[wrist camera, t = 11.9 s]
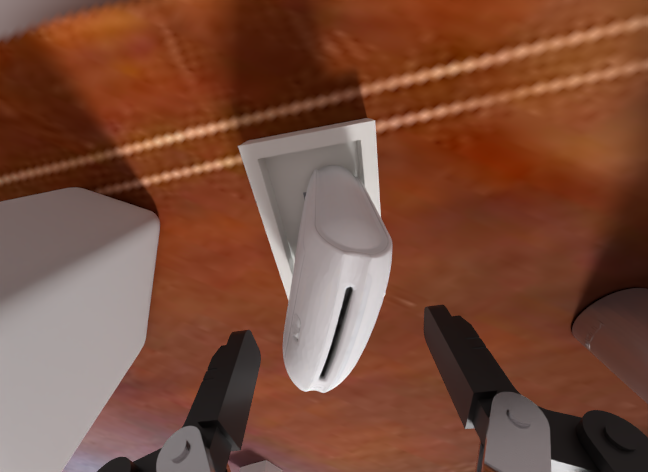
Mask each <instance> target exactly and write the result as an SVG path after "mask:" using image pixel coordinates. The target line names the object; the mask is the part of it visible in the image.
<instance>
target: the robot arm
mask: <svg viewBox="0 0 648 472" xmlns="http://www.w3.org/2000/svg"><path fill="white" fill-rule="evenodd" d="M572 333H573V336H574V337H575V338H576V339H577V340H578V341H579V342H580V343H581V344H583V345H584V346H585V347H586V348H587V349H588V350H589V351H590V352H591V353H592V354H594V355H595V356H596V357H597V358H598V359H599V360H600V361H601V362H602V363H603V364H605V365H606V366H607V367H608V368H609V369H610V370H611V371H612V372H613V373H614V374H615V375H616V376H618V377H619V378H620V379H621V380H622V381H623V382H624V383H625V384H626V385H627V386H629V387H630V388H631V389H632V390H633V391H634V392H635V393H636V394H637V395H639V396H640V397H641V398H642V399H643V400H644V401H645V402H646V403H647V404H648V289H646V288H632V289H626V290H622V291H618V292H615V293H613V294H610V295H608V296H606V297H604V298H602V299H600V300H598V301H596V302H595V303H593V304H592V305H590V306H589V307H588V308H586V309H585V310H584V311H583V312H582V313H581V314H580V315H579V316H578V317H577V319H576V320H575V322H574V324H573V327H572ZM424 336H425V340H426V343H427V345H428V347H429V350H430V352H431V354H432V356H433V359H434V361H435V363H436V365H437V368H438V370H439V372H440V374H441V376H442V379H443V381H444V383H445V385H446V388H447V390H448V392H449V394H450V396H451V399H452V401H453V403H454V405H455V408H456V410H457V412H458V414H459V417H460V419H461V421H462V423H463V425H464V428H465V429H470V428H475V430H476V432H477V434H478V436H479V438H480V444H479V450H478V457H477V463H476V470H475V472H648V438H647V437H646V436H645V435H644V434H643V433H642V432H641V431H640V430H639V429H638V428H636V427H635V426H634V425H632V424H631V423H629V422H628V421H626V420H624V419H622V418H620V417H619V416H616V415H614V414H612V413H608V412H605V411H600V410H593V411H589V412H587V413H586V414H585V415H584V416H583V417H582V418H581V417H576V416H572V415H567V414H563V413H558V412H554V411H550V410H546V409H543V408H541V407H539V406H537V405H535V404H534V403H533V402H532V401H530V400H529V399H527V398H526V397H524V396H522V395H521V394H520V393H519V392H518V391H517V390H516V389H515V388H514V386H513V385H512V383H511V382H510V381H509V379H508V378H507V376H506V375H505V373H504V372H503V370H502V369H501V367H500V366H499V365H498V363H497V362H496V360H495V359H494V357H493V356H492V354H491V353H490V351H489V350H488V349H487V348H486V346H485V344H484V343H483V341H482V340H481V339H480V338H479V335H478V334H477V333H476V331H475V330H474V328H473V327H472V325H471V324H470V323H468V322H467V321H466V320H464V319H463V318H462V317H461V316H451V315H450V313H449V312H448V310H447V308H446V307H445V306H444V305H436V306H429V307H425V311H424ZM260 361H261V355H260V350H259V348H258V346H257V344H256V341H255V339H254V337H253V335H252V333H251V331H250V330H244V331H237V332H232V333H231V335H230V337H229V340H228V342H227V345H224V346H221V347H220V348H219V349H218V351H217V352H216V353H215V354H214V356H213V357H212V359H211V362H210V364H209V367H208V371H206V374H205V376H204V378H203V382H202V383H201V386H200V388H199V390H198V393H197V395H196V397H195V400H194V402H193V405H192V407H191V409H190V412H189V414H188V416H187V419H186V421H185V423H184V425H183V427H182V428H181V429H179V430H178V431H176V432H175V433H174V434H173V435H172V436H171V437H170V438H169V439H168V440H167V441H166V443H165V444H164V445H163V447H162V448H161V449H159V450H157V451H155V452H153V453H151V454H148V455H146V456H144V457H142V458H140V459H138V460H136V461H134V462H132V461H130V460H129V459H128V458H126V457H118V458H115V459H113V460H111V461H109V462H108V463H106V464H105V465H104V466H103V467H101V468H100V469H99V470H98V471H97V472H231V471H230V468H229V465H228V459H229V455H230V451H238V450H241V446H242V442H243V438H244V433H245V429H246V424H247V420H248V416H249V411H250V407H251V402H252V398H253V394H254V389H255V385H256V380H257V376H258V371H259V367H260Z"/></svg>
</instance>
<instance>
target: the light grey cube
mask: <svg viewBox="0 0 648 472" xmlns="http://www.w3.org/2000/svg"><path fill="white" fill-rule="evenodd" d="M239 472H283V470H282V469H280V468H278V467H277V466H275V465H274V464H272V463H270V462H269V461H267V460H265V461H261V462H257V463H254V464H250V465H247V466H243V467H240V471H239Z"/></svg>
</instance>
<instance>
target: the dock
mask: <svg viewBox="0 0 648 472" xmlns="http://www.w3.org/2000/svg"><path fill="white" fill-rule="evenodd" d="M238 148H239V151H240V154H241V157H242V160H243V163H244V166H245V169H246V172H247V175H248V178H249V181H250V185H251V188H252V191H253V194H254V197H255V200H256V203H257V206H258V209H259V212H260V215H261V218H262V221H263V224H264V227H265V230H266V233H267V236H268V239H269V242H270V245H271V249H272V252H273V255H274V258H275V261H276V264H277V267H278V270H279V273H280V276H281V279H282V282H283V285H284V288H285V291H286V294H287V297H288V300H289V296H290V290H291V283H292V277H293V270H294V263H295V255H296V248H297V241H298V235H299V229H300V223H301V217H302V212H303V206H304V202H305V196H306V192H307V188H308V184H309V181H310V179H311V176H312V174H313V172H314V170H315V169H318V170H320V169H321V168H323V167H325V166H329V165H337V166H341V167H344V168H346V169H348V170H349V171H350V172H351V173H352V174H353V175H354V177H359V178H360V179H361V181H362V183H363V185H364V186H365V188H366V190H367V192H368V194H369V196H370V198H371V200H372V202H373V204H374V205H375V207H376V209H377V211H378V213H379V215H380V217H381V212H380V195H379V178H378V161H377V145H376V128H375V120H372V119H369V118H364V119H359V120H354V121H348V122H343V123H338V124H333V125H327V126H322V127H317V128H312V129H306V130H301V131H296V132H290V133H285V134H280V135H275V136H269V137H264V138H259V139H254V140H248V141H246V142H244V143H243V144H241V145H239V146H238Z"/></svg>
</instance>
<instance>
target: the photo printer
mask: <svg viewBox="0 0 648 472" xmlns="http://www.w3.org/2000/svg"><path fill="white" fill-rule="evenodd" d="M391 260H392V240H391V237H390V235H389V233H388V231H387V229H386V227H385V225H384V223H383V221H382V219H381V217H380V215H379V213H378V211H377V209H376V207H375V205H374V204H373V202H372V200H371V198H370V196H369V194H368V192H367V190H366V188H365V186H364V185H363V183H362V181H361V179H360V178H359V177H354V175H353V174H352V173H351V172H350V171H349V170H348V169H346V168H344V167H341V166H337V165H329V166H325V167H323V168H321V169H320V170H318V169H315V170H314V172H313V174H312V176H311V179H310V181H309V184H308V188H307V192H306V196H305V202H304V206H303V212H302V217H301V223H300V229H299V235H298V241H297V248H296V255H295V263H294V270H293V277H292V283H291V290H290V296H289V302H288V309H287V315H286V321H285V328H284V333H283V334H284V336H283V357H284V363H285V367H286V370H287V372H288V374H289V377H290V378H291V380H292V381H293V383H294V384H295V385H296V386H297V387H298V388H299V389H301V390H302V391H305V392H306V391H311V390H316V391H319V392H322V393H325V392H327V391H329V390H331V389H333V388H335V387H336V386H337V385H339V384H340V383H341V382H342V381H343V380H344V379H345V378H346V377H347V376H348V375H349V373H350V372H351V371H352V369H353V368H354V366H355V365H356V363H357V361H358V360H359V358H360V356H361V354H362V352H363V350H364V348H365V346H366V344H367V342H368V339H369V337H370V335H371V332H372V330H373V327H374V325H375V322H376V319H377V316H378V314H379V311H380V308H381V305H382V302H383V298H384V295H385V291H386V287H387V283H388V280H389V274H390V268H391Z"/></svg>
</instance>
